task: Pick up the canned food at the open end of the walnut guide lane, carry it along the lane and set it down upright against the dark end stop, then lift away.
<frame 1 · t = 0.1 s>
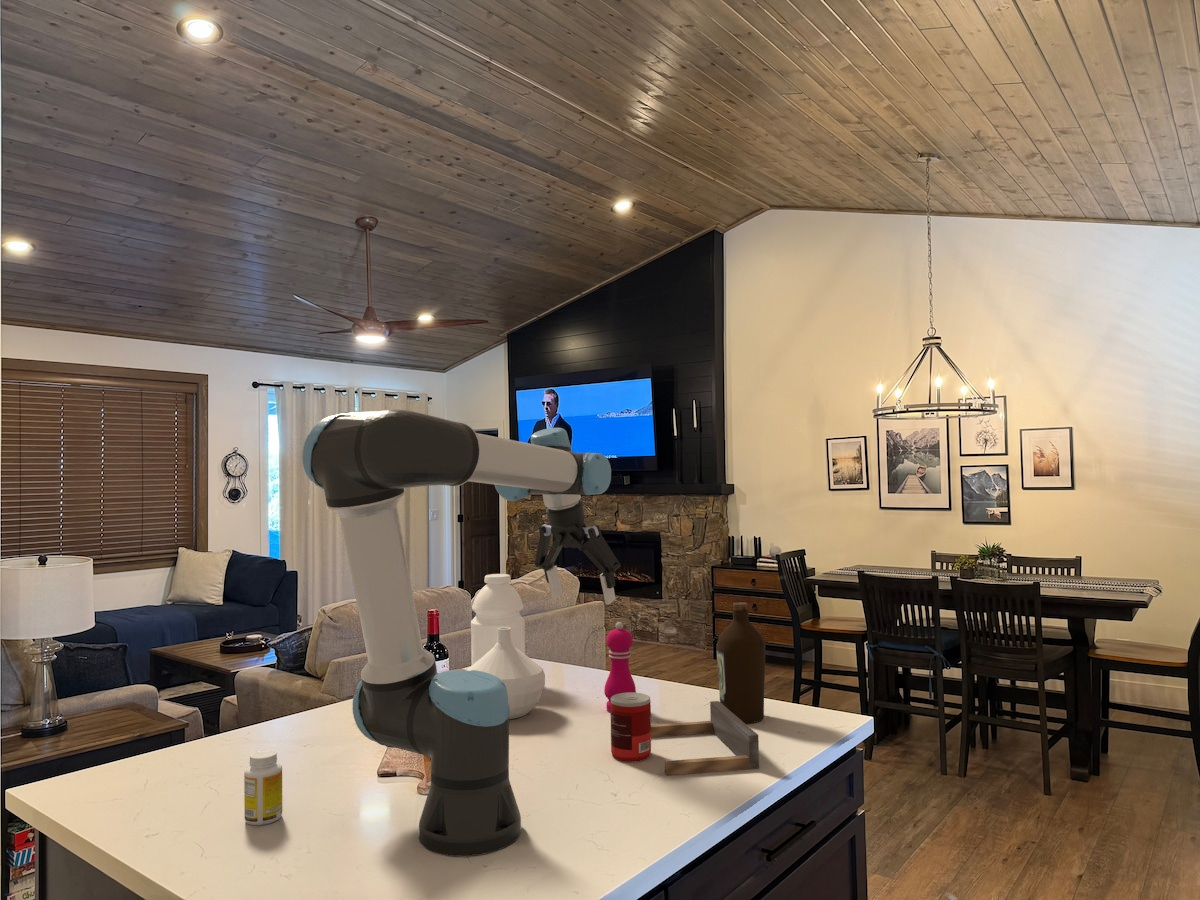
hand: (583, 599, 173), 28 cm above the kitchen island, tool tilted 20°, fingers open, 13 cm apart
vase: (504, 714, 187), on the kitchen island
canned food: (631, 756, 159), on the kitchen island
supplement bottle: (263, 820, 131), on the kitchen island
guide lane: (691, 751, 161), on the kitchen island
bottle: (498, 685, 213), on the kitchen island
olive oil: (741, 718, 183), on the kitchen island
pepper mill: (620, 711, 189), on the kitchen island
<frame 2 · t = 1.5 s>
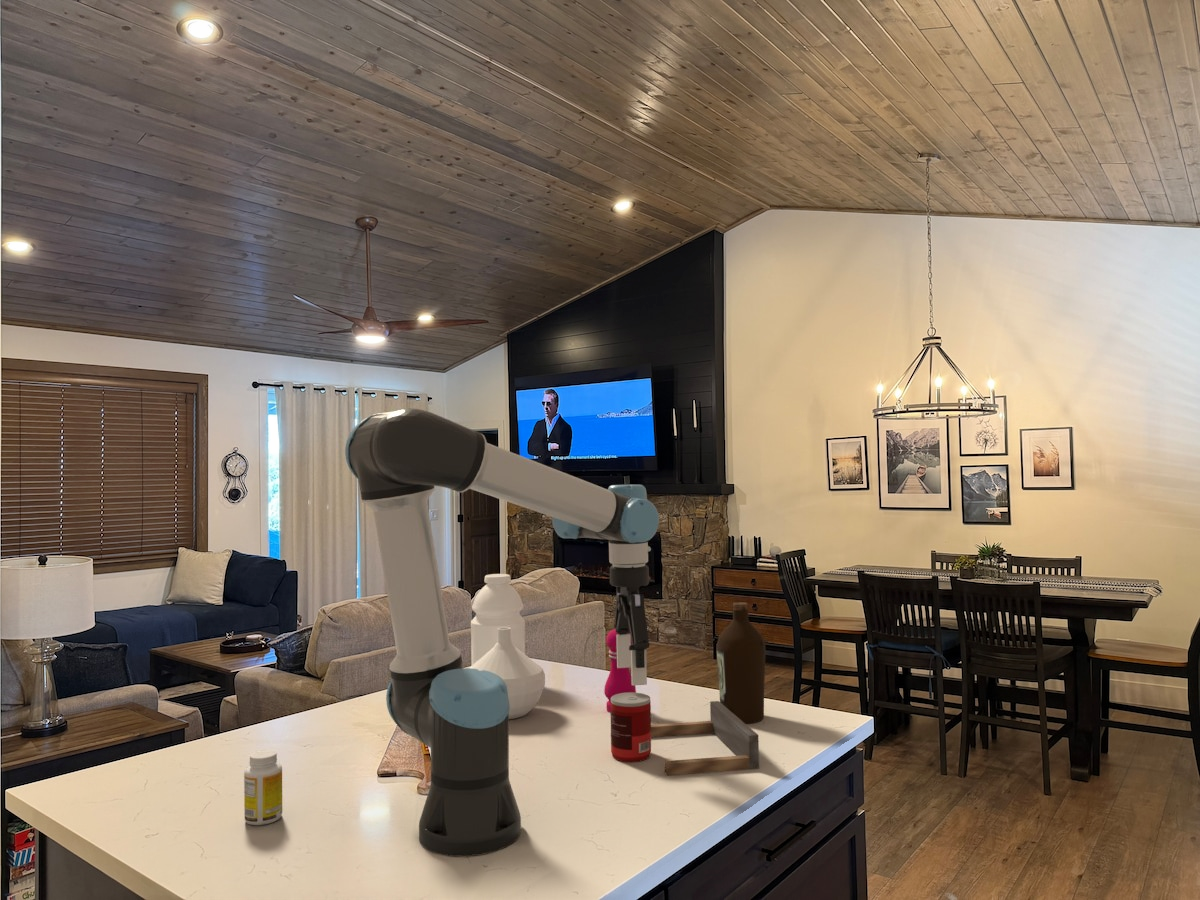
hand: (631, 675, 159), 15 cm above the kitchen island, tool pointing down, fingers open, 13 cm apart
nothing on the kitchen island moved.
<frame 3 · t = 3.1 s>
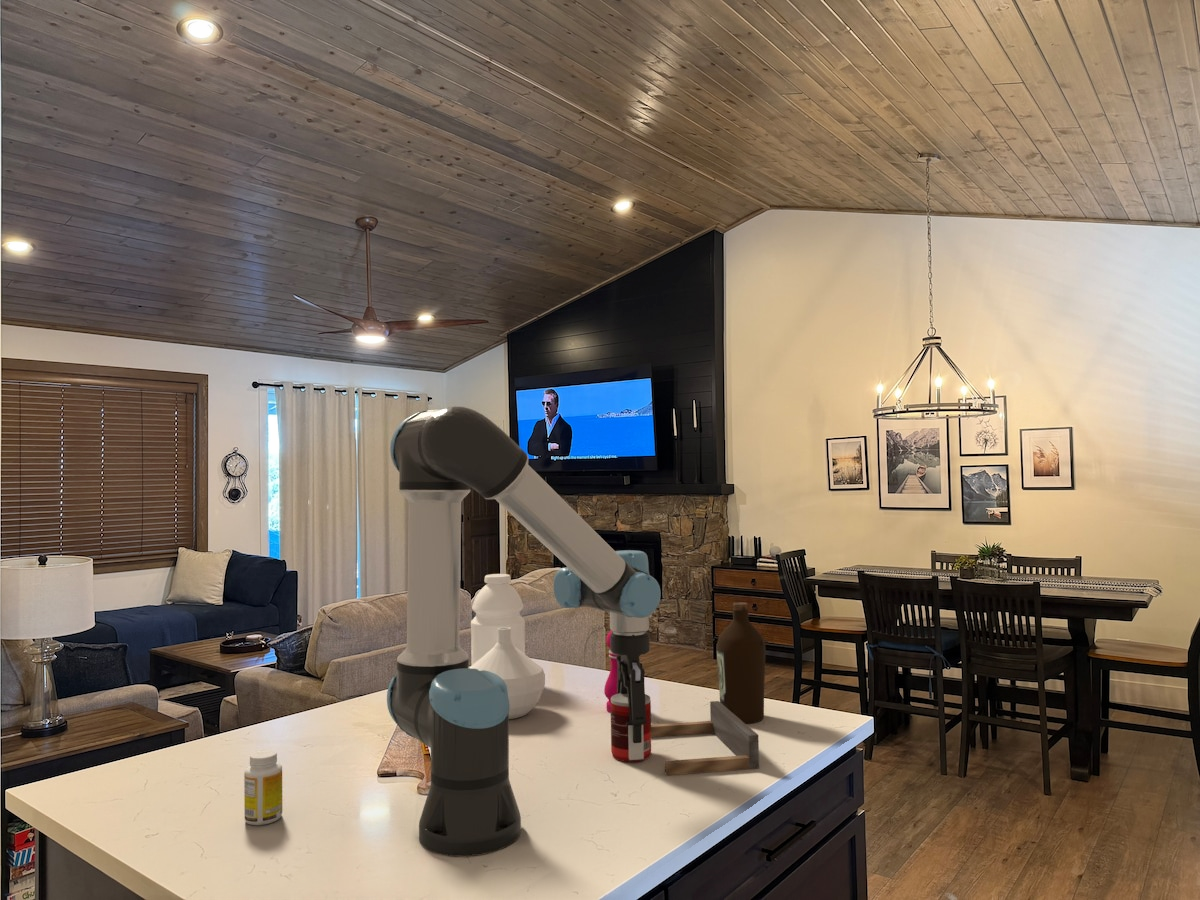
hand: (631, 751, 159), 1 cm above the kitchen island, tool pointing down, fingers closed on canned food, 8 cm apart
canned food: (631, 756, 159), on the kitchen island, touching gripper
everything else where it was.
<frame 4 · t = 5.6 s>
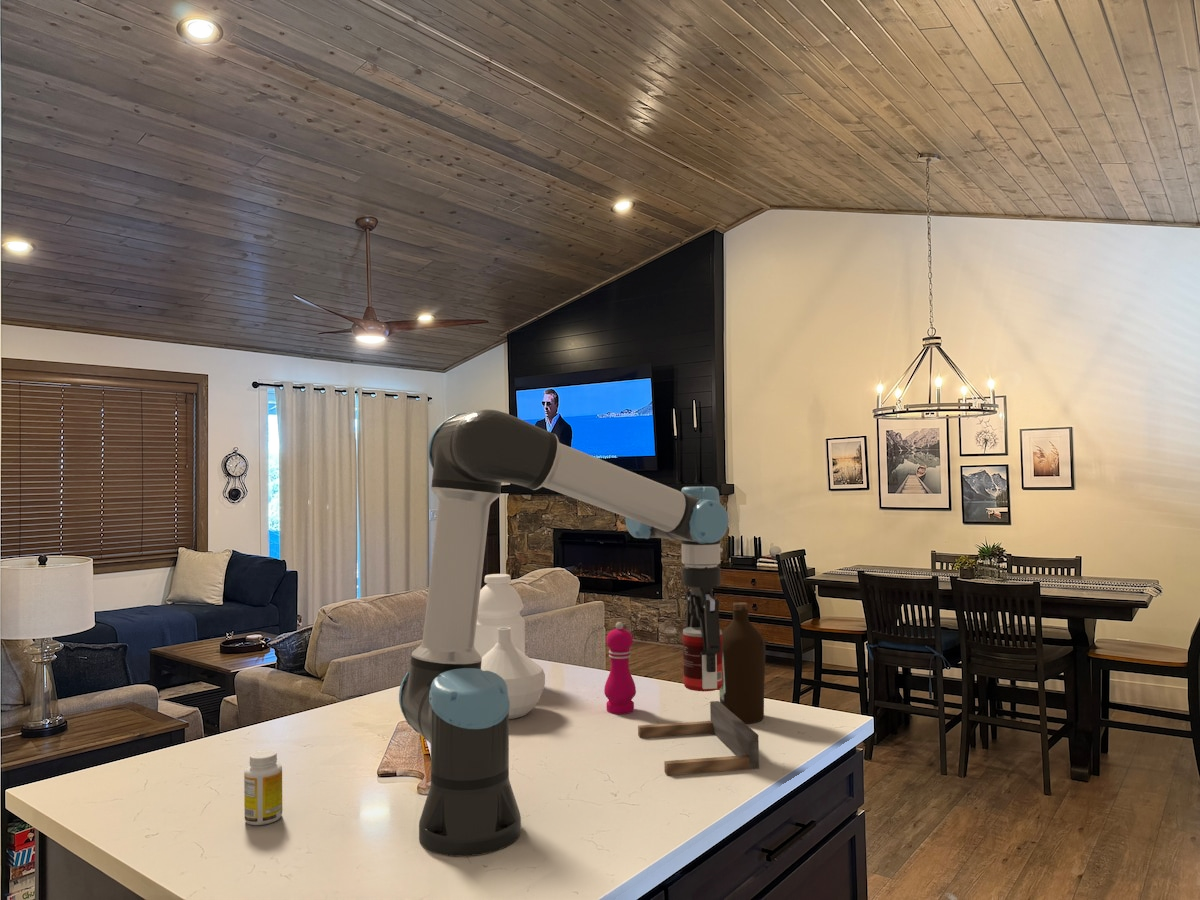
hand: (702, 682, 162), 13 cm above the kitchen island, tool pointing down, fingers closed on canned food, 8 cm apart
canned food: (703, 687, 162), point 12 cm above the kitchen island, touching gripper
everything else where it was.
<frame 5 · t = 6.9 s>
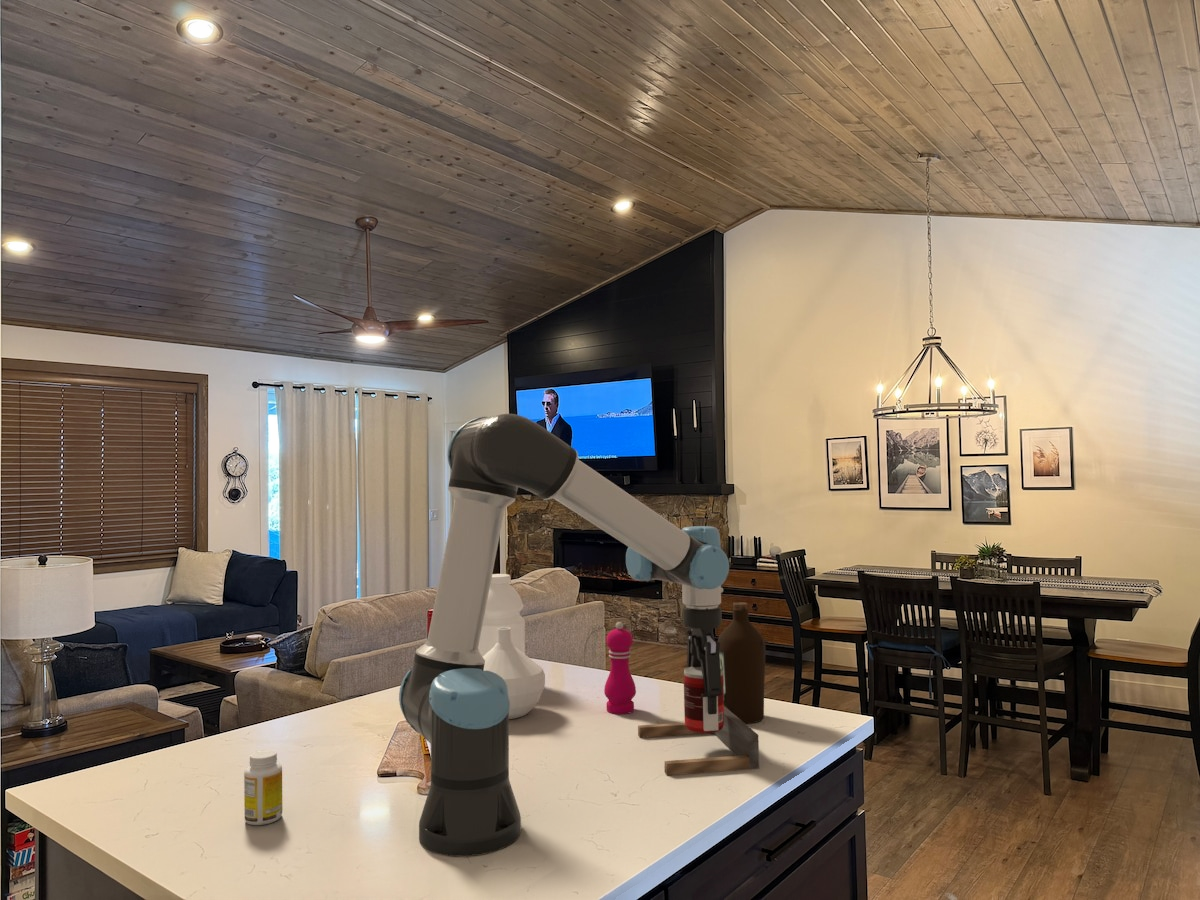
hand: (704, 723, 161), 5 cm above the kitchen island, tool pointing down, fingers closed on canned food, 8 cm apart
canned food: (704, 728, 161), point 4 cm above the kitchen island, touching gripper
everything else where it was.
when the fingers open (2 cm above the kitchen island, at t = 7.9 s): canned food drops 1 cm, on the kitchen island.
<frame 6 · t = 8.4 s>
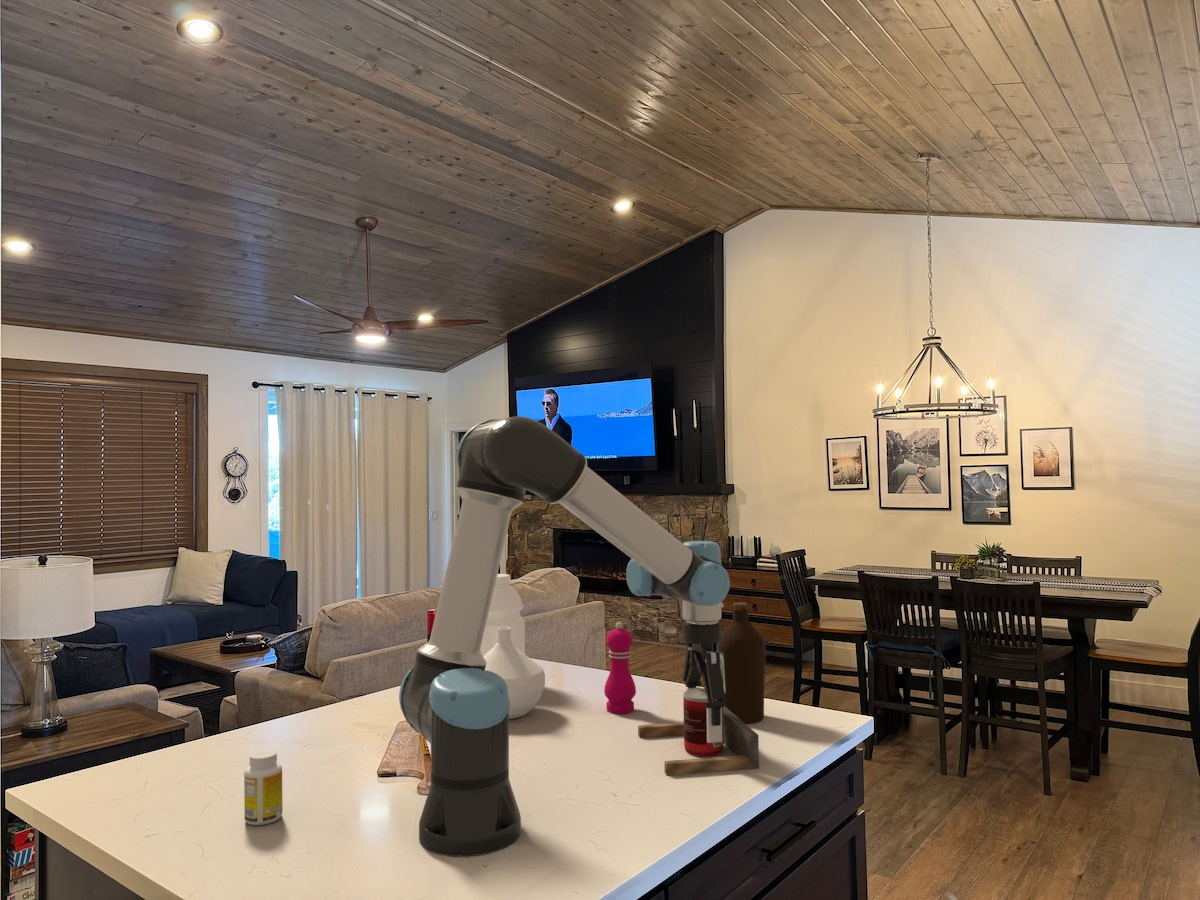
hand: (703, 730, 161), 4 cm above the kitchen island, tool pointing down, fingers open, 13 cm apart
canned food: (703, 751, 161), on the kitchen island
everything else where it was.
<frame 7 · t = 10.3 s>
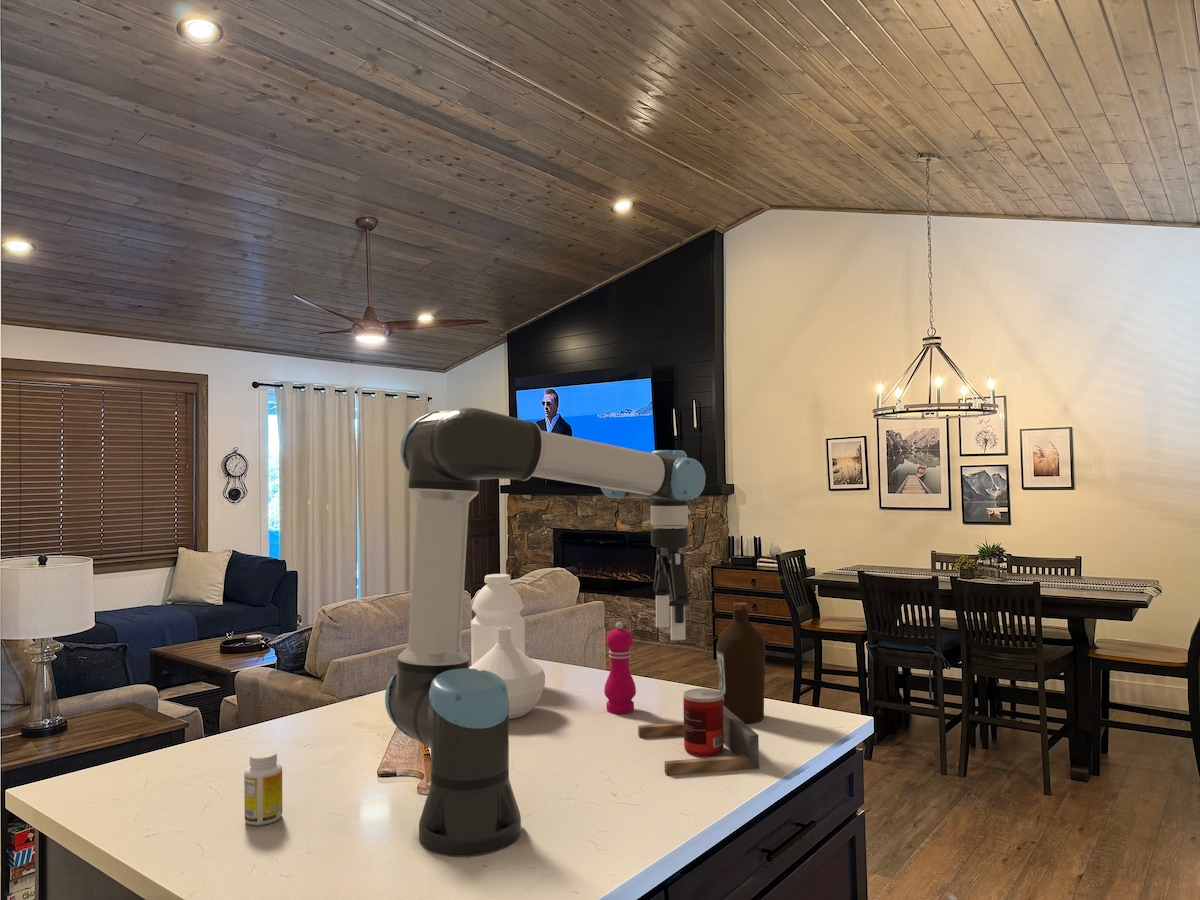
hand: (670, 633, 166), 22 cm above the kitchen island, tool pointing down, fingers open, 13 cm apart
nothing on the kitchen island moved.
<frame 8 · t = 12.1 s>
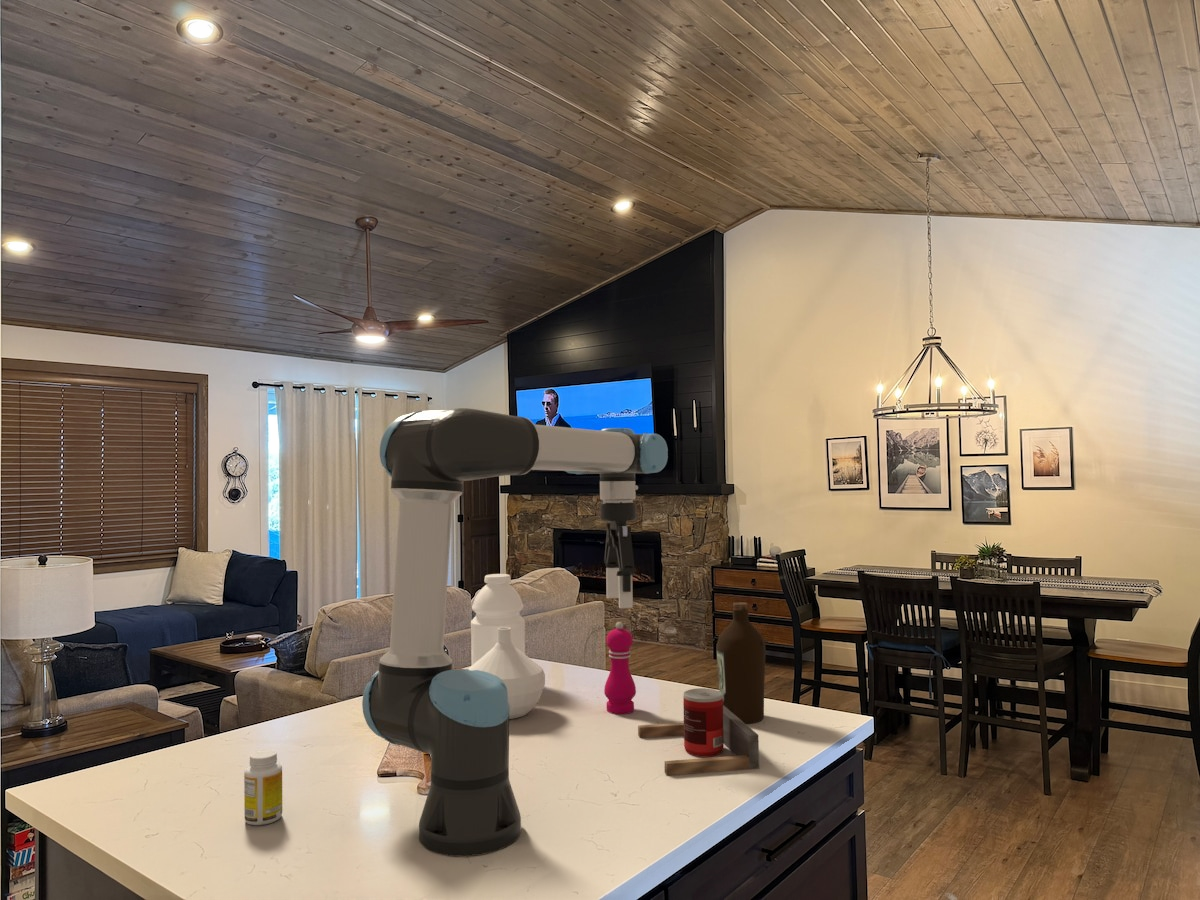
hand: (619, 602, 174), 27 cm above the kitchen island, tool pointing down, fingers open, 13 cm apart
nothing on the kitchen island moved.
at the end: canned food inside the target area (0.2 cm from its centre), on the kitchen island; canned food tilted 0°; the gripper is holding nothing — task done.
